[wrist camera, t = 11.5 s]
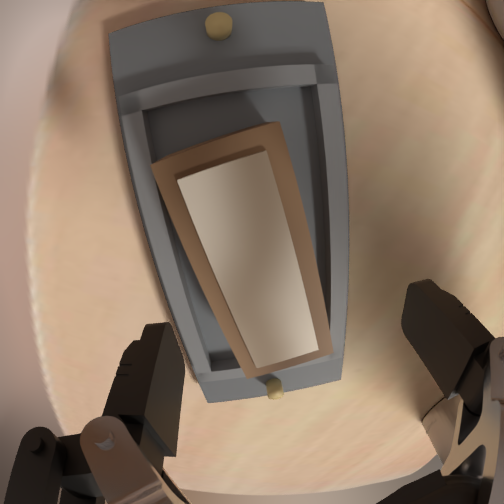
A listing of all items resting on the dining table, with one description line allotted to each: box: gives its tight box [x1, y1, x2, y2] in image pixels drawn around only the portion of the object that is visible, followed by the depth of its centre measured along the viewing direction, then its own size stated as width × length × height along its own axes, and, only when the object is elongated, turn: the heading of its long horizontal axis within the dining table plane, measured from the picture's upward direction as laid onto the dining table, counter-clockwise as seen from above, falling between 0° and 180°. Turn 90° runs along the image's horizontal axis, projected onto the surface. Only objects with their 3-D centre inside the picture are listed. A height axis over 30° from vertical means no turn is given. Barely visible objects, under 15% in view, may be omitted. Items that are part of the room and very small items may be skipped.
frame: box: [150, 121, 334, 379], centre depth 14 cm, size 5×12×4 cm, turn 17°
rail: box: [109, 1, 349, 403], centre depth 16 cm, size 11×26×3 cm, turn 8°
